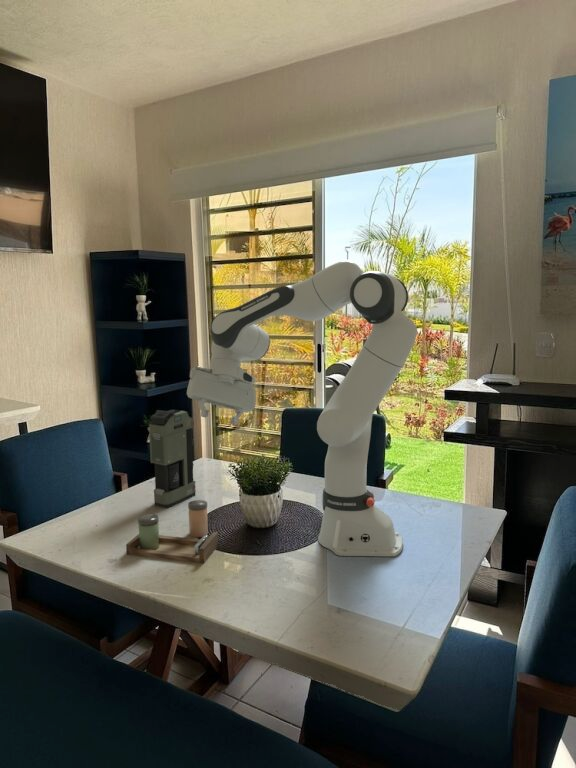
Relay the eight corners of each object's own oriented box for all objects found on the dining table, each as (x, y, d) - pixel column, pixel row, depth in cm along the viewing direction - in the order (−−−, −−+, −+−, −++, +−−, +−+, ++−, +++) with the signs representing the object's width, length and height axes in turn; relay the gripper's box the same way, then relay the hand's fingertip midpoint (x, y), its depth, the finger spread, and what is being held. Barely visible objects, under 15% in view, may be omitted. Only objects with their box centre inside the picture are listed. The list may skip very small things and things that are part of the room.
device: (167, 509, 169) (164, 414, 165) (149, 504, 173) (145, 412, 168) (196, 495, 181) (194, 407, 177) (179, 491, 185) (176, 404, 180)
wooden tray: (218, 546, 143) (218, 532, 143) (204, 564, 134) (203, 549, 133) (145, 538, 148) (144, 525, 147) (126, 555, 138) (125, 540, 138)
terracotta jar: (210, 531, 153) (210, 500, 152) (203, 539, 148) (203, 507, 146) (193, 529, 154) (192, 499, 153) (186, 537, 149) (185, 506, 148)
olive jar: (163, 544, 144) (162, 515, 143) (154, 552, 139) (152, 523, 138) (145, 542, 145) (144, 513, 144) (135, 550, 140) (134, 521, 139)
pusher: (211, 547, 142) (210, 536, 141) (201, 558, 136) (201, 546, 135) (204, 546, 142) (204, 535, 142) (194, 558, 136) (194, 546, 136)
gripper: (196, 360, 147) (190, 409, 142) (259, 379, 158) (256, 425, 153) (186, 367, 152) (180, 414, 147) (248, 385, 163) (245, 430, 158)
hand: (219, 420), depth 150 cm, fingers open, 8 cm apart
